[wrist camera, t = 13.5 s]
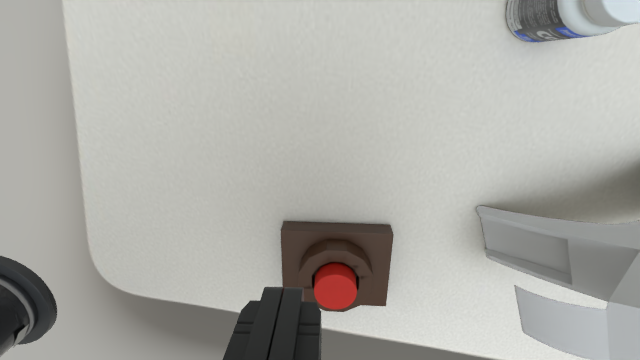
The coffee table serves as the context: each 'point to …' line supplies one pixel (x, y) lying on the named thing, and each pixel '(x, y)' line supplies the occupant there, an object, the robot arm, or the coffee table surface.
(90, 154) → the coffee table surface
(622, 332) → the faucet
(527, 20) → the pill bottle
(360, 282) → the button box
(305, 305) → the robot arm
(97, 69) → the coffee table surface
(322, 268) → the button
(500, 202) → the coffee table surface
